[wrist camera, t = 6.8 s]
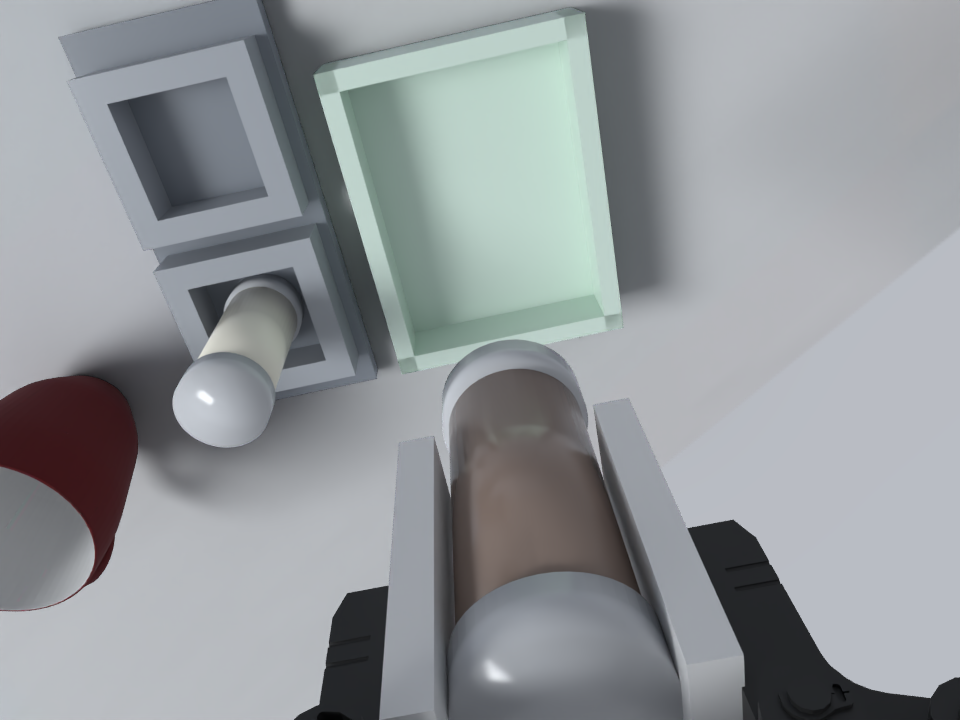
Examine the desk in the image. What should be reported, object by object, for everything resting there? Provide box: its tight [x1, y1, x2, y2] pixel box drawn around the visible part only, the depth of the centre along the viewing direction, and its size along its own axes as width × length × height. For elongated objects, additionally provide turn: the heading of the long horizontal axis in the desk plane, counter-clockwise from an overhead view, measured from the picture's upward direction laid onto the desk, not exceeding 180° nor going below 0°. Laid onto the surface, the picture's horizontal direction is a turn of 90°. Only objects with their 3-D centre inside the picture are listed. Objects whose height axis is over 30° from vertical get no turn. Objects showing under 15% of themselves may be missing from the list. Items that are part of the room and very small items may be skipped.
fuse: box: [173, 274, 304, 448], centre depth 31 cm, size 4×4×9 cm
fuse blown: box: [442, 339, 683, 720], centre depth 15 cm, size 4×4×9 cm
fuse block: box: [58, 0, 378, 400], centre depth 33 cm, size 18×8×3 cm, turn 12°
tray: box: [313, 7, 623, 374], centre depth 33 cm, size 14×11×3 cm
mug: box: [0, 375, 138, 611], centre depth 35 cm, size 10×8×10 cm
